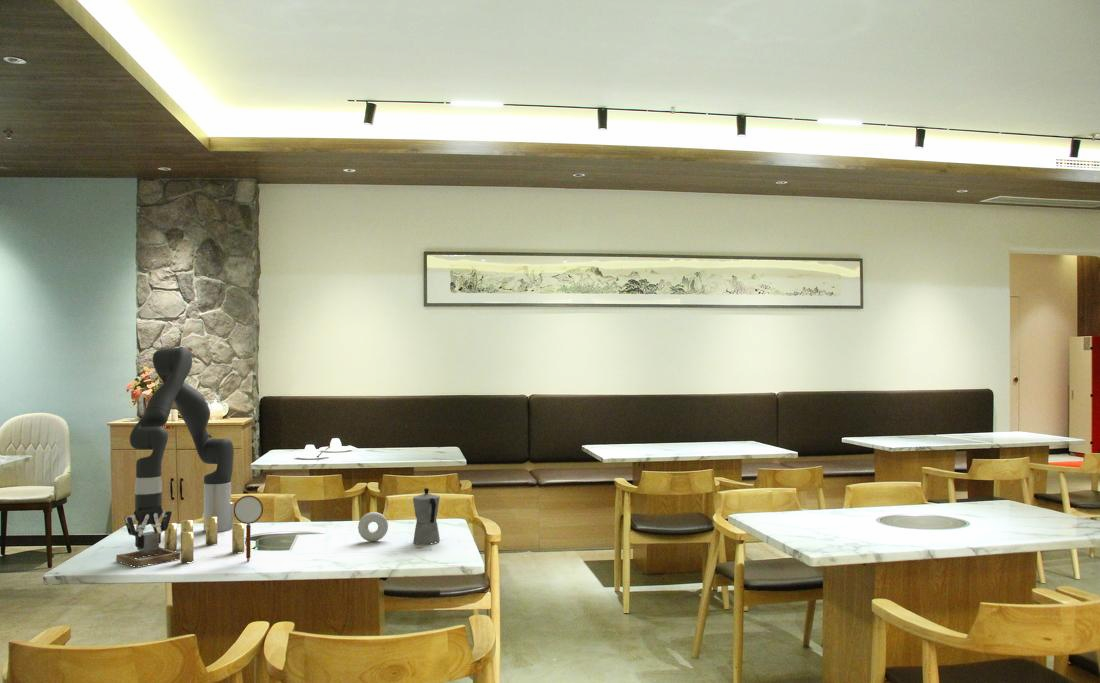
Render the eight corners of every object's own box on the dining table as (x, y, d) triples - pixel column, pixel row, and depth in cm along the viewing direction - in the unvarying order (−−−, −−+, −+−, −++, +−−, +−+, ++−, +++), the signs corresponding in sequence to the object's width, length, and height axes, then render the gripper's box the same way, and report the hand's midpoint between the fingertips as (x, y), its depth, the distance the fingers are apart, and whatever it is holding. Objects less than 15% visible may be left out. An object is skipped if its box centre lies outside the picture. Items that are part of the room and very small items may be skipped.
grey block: (151, 547, 254) (152, 531, 254) (158, 549, 251) (159, 533, 252) (137, 550, 251) (137, 533, 251) (144, 552, 248) (144, 535, 248)
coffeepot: (407, 539, 279) (407, 486, 279) (434, 536, 283) (433, 484, 283) (420, 548, 265) (420, 492, 265) (448, 545, 269) (448, 490, 269)
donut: (357, 543, 273) (357, 513, 273) (357, 541, 276) (357, 511, 277) (388, 541, 275) (388, 512, 276) (388, 539, 279) (387, 510, 279)
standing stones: (212, 542, 277) (212, 515, 277) (249, 551, 263) (249, 523, 263) (148, 554, 260) (148, 525, 260) (184, 564, 246) (184, 534, 246)
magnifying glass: (263, 559, 251) (263, 494, 251) (262, 561, 249) (262, 495, 250) (234, 561, 249) (234, 495, 250) (232, 562, 248) (233, 496, 248)
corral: (159, 553, 260) (159, 547, 260) (179, 559, 252) (180, 552, 252) (116, 561, 250) (116, 554, 250) (136, 567, 242) (136, 561, 242)
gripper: (165, 487, 260) (164, 541, 259) (119, 493, 248) (118, 549, 248) (177, 489, 255) (176, 544, 254) (130, 495, 244) (129, 552, 243)
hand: (148, 546), depth 251 cm, fingers closed on grey block, 4 cm apart
